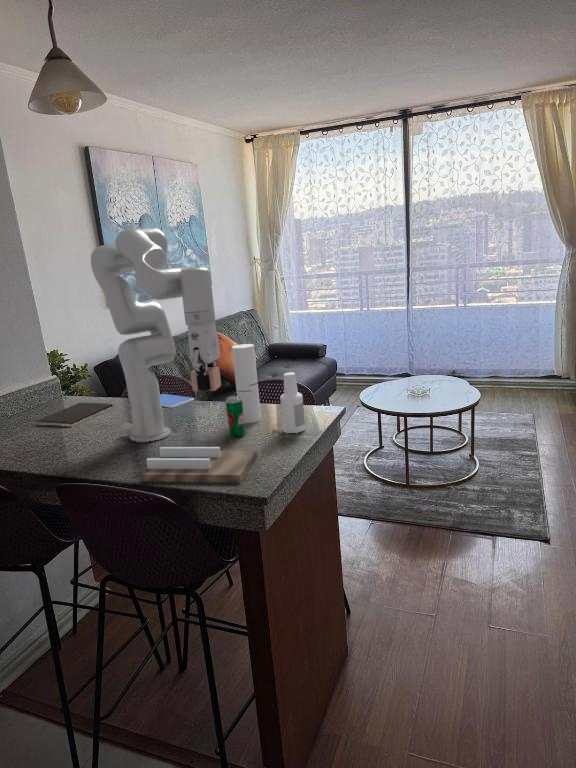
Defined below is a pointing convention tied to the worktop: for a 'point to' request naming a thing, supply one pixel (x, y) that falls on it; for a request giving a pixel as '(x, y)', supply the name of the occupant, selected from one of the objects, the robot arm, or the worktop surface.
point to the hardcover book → (74, 413)
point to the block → (213, 376)
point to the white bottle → (292, 406)
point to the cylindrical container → (247, 381)
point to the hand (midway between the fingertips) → (208, 386)
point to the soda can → (235, 416)
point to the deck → (222, 469)
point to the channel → (184, 462)
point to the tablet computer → (173, 400)
